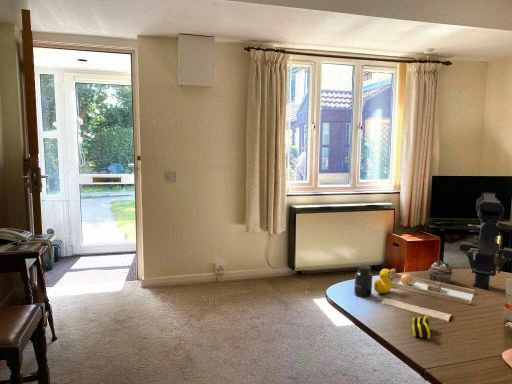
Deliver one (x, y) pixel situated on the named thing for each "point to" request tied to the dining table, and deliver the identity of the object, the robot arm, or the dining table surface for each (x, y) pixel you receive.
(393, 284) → the lane rails
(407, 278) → the ball
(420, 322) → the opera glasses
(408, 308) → the beige long flat bar
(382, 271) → the duckling
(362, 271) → the supplement bottle
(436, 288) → the paddle block
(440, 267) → the cupcake
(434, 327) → the dining table surface
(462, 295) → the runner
